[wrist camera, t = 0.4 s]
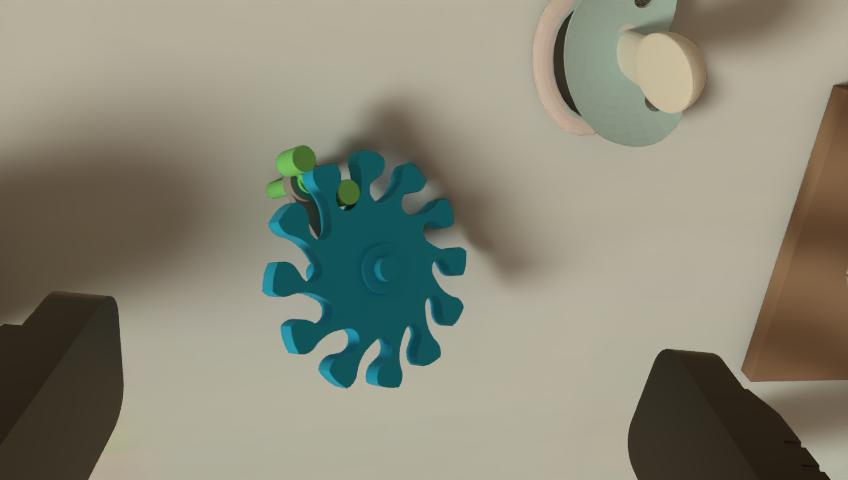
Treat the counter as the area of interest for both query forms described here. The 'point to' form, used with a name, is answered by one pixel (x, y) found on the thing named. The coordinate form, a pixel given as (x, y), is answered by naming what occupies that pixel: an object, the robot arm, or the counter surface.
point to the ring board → (810, 270)
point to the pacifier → (618, 69)
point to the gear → (361, 264)
